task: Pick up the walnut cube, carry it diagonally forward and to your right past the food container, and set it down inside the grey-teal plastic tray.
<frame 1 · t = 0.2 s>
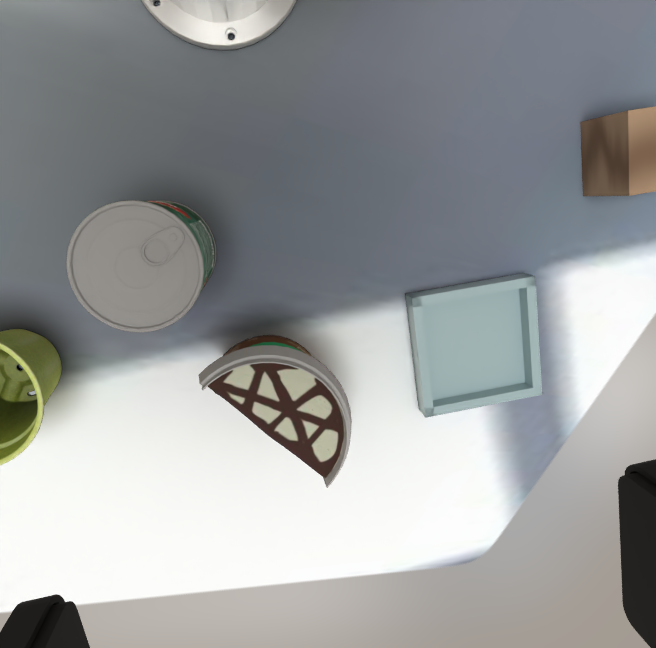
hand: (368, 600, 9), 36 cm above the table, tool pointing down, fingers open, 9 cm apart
plant pot: (23, 363, 43), on the table
canned tomato: (166, 251, 43), on the table
cube: (614, 154, 46), on the table
food container: (289, 363, 46), on the table
tray: (470, 342, 48), on the table
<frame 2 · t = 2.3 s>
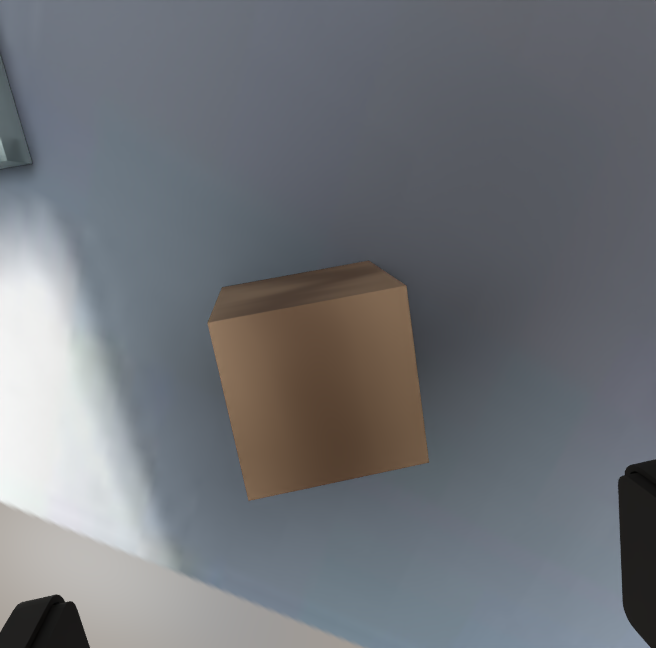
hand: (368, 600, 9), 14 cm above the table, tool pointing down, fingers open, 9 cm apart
cube: (308, 343, 23), on the table
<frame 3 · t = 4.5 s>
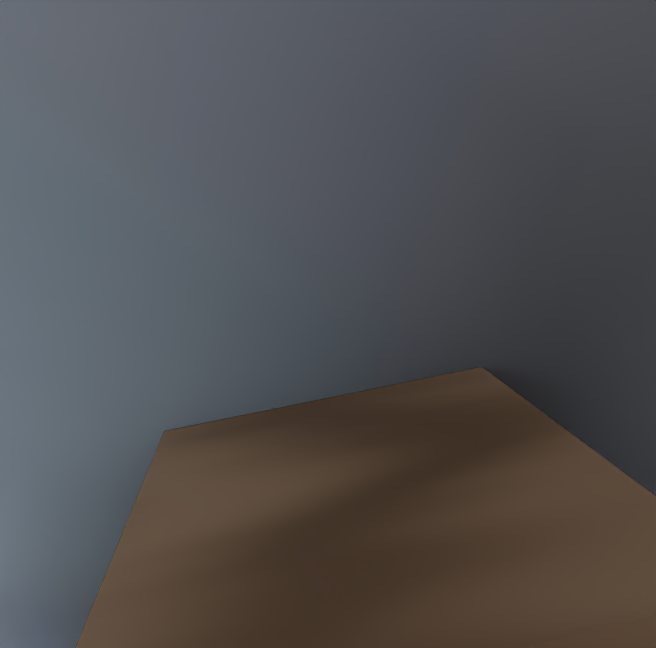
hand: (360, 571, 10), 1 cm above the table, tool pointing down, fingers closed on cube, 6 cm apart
cube: (351, 537, 11), on the table, touching gripper
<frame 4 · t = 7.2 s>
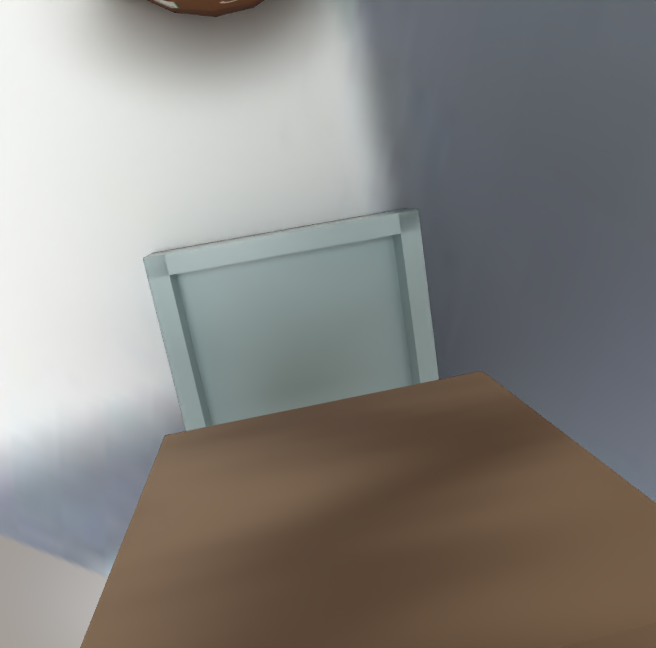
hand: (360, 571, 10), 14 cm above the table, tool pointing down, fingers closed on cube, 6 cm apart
cube: (352, 541, 11), point 13 cm above the table, touching gripper
tray: (303, 350, 24), on the table
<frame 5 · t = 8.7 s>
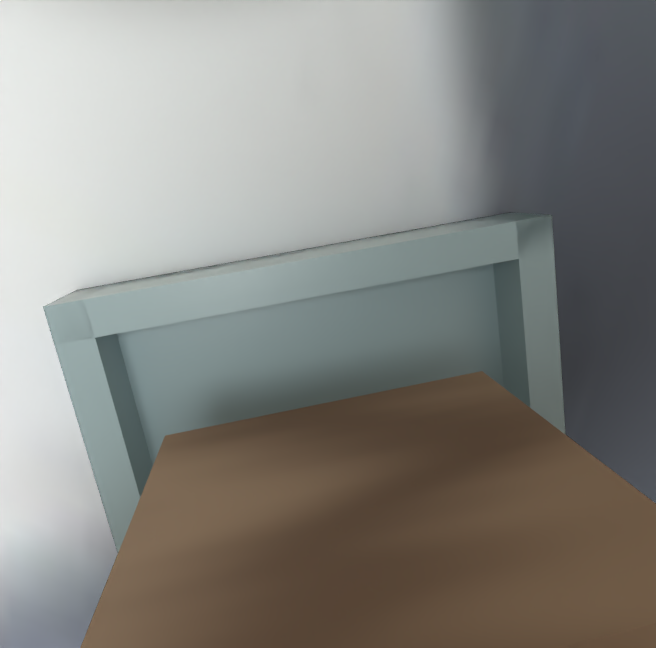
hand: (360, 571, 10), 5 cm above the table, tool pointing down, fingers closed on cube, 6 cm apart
cube: (352, 541, 11), point 4 cm above the table, touching gripper
tray: (335, 448, 14), on the table
when the fingers open (3 cm above the table, at t = 10.0 s): cube drops 2 cm, resting on tray.
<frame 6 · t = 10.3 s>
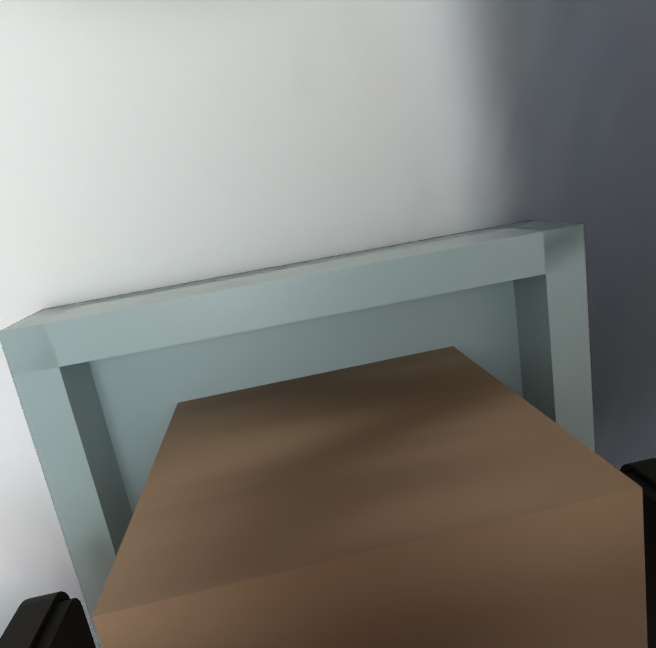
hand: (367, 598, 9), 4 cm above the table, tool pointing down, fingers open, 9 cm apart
cube: (341, 497, 12), point 1 cm above the table, touching tray
tray: (336, 482, 13), on the table
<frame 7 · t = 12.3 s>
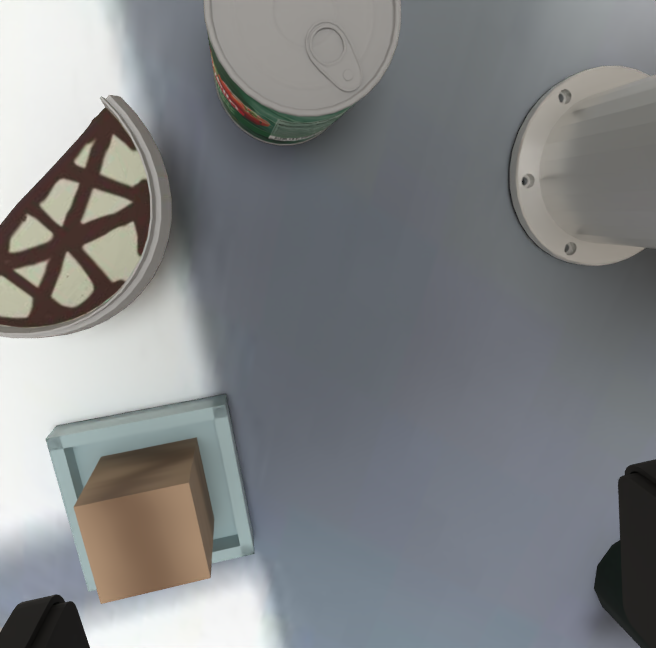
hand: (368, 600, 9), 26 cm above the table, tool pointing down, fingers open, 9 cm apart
canned tomato: (281, 77, 32), on the table
cube: (159, 488, 35), point 1 cm above the table, touching tray
food container: (122, 239, 32), on the table
tray: (160, 483, 36), on the table
wine bottle: (625, 581, 44), on the table
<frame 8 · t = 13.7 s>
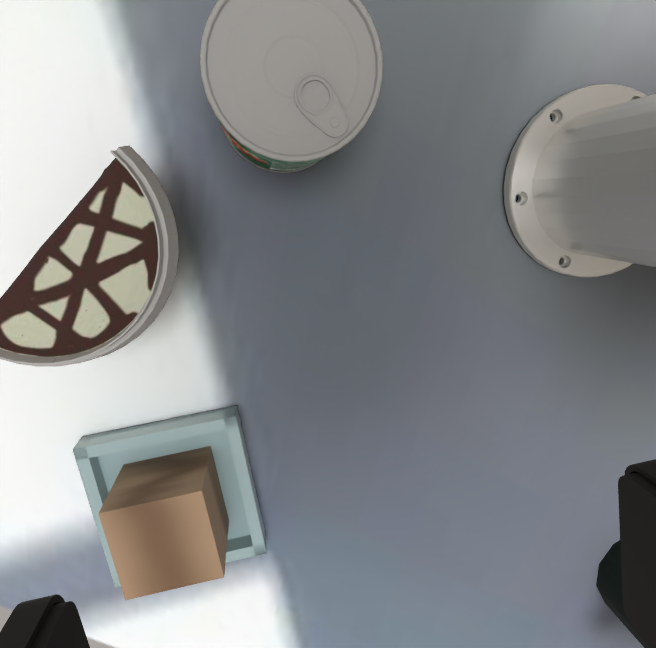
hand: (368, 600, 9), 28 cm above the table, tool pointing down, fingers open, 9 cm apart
canned tomato: (282, 108, 34), on the table
cube: (177, 493, 38), point 1 cm above the table, touching tray
food container: (137, 265, 35), on the table
tray: (178, 488, 38), on the table
wine bottle: (628, 579, 46), on the table
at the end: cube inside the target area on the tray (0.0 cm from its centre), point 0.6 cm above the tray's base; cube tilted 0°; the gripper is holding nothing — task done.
